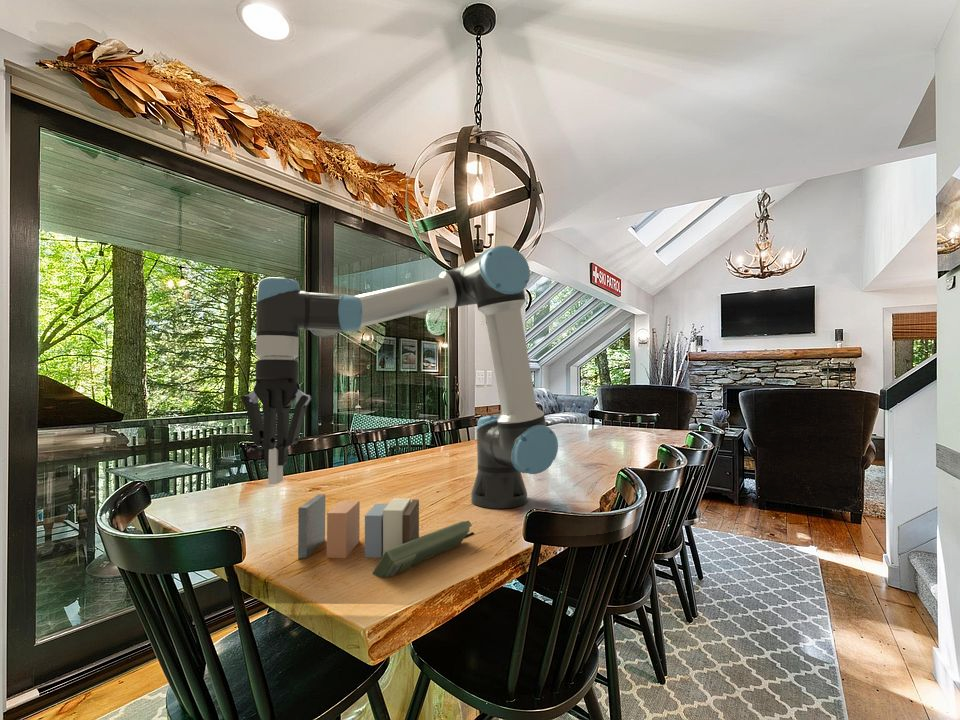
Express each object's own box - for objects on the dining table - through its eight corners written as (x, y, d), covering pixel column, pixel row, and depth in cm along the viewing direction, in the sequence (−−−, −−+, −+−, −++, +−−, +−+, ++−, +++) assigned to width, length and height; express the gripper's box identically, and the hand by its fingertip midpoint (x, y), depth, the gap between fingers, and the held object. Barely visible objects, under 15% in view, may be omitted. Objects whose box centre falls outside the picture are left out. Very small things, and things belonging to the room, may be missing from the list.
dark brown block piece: (419, 545, 89) (418, 499, 89) (409, 567, 79) (409, 515, 79) (314, 545, 90) (315, 499, 90) (292, 566, 80) (293, 514, 80)
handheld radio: (367, 573, 75) (465, 532, 94) (377, 590, 73) (475, 545, 92) (383, 547, 72) (480, 510, 92) (394, 563, 71) (490, 523, 90)
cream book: (410, 541, 88) (410, 498, 88) (402, 558, 80) (402, 510, 80) (393, 541, 88) (393, 498, 89) (383, 558, 80) (383, 510, 81)
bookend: (325, 539, 89) (325, 494, 89) (306, 558, 80) (306, 507, 80) (317, 539, 89) (317, 494, 90) (298, 558, 80) (298, 507, 81)
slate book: (390, 542, 88) (390, 503, 88) (381, 557, 81) (381, 515, 81) (375, 542, 88) (375, 503, 88) (364, 557, 81) (364, 515, 81)
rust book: (359, 541, 88) (359, 500, 89) (346, 558, 80) (346, 513, 81) (342, 541, 89) (342, 500, 89) (326, 557, 81) (327, 513, 81)
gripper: (318, 359, 90) (317, 478, 89) (254, 359, 90) (252, 477, 89) (302, 358, 82) (300, 487, 81) (232, 358, 83) (230, 487, 82)
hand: (275, 482), depth 85 cm, fingers closed
